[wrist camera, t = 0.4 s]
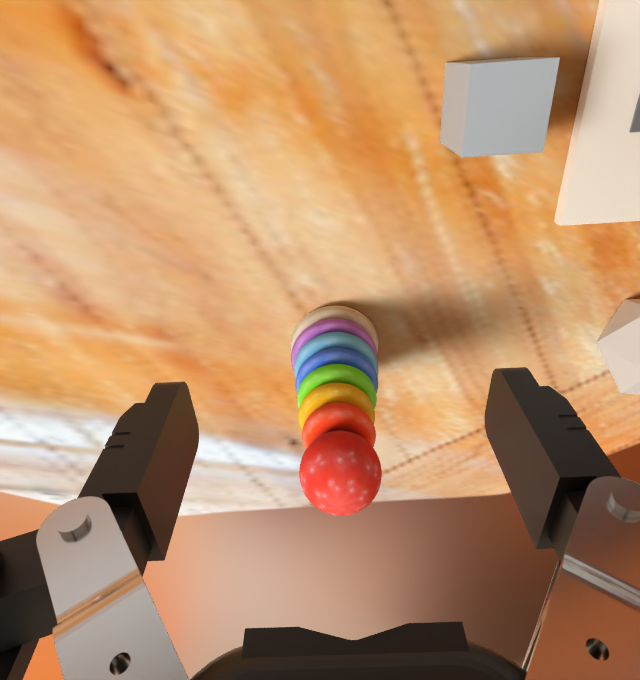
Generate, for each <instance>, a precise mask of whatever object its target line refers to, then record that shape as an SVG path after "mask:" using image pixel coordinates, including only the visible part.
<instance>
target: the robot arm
mask: <svg viewBox="0 0 640 680" xmlns="http://www.w3.org/2000/svg"><path fill="white" fill-rule="evenodd" d="M485 428H486V433H487V437H488V439H489V441H490V444H491V446H492V448H493V451H494V453H495V455H496V458H497V460H498V462H499V465H500V467H501V469H502V472H503V474H504V476H505V478H506V481H507V483H508V485H509V488H510V490H511V492H512V495H513V497H514V499H515V502H516V504H517V506H518V509H519V511H520V513H521V515H522V518H523V520H524V522H525V525H526V527H527V529H528V532H529V534H530V536H531V539H532V541H533V543H534V545H535V548H536V549H547V548H554V549H555V551H556V553H557V556H558V558H559V562H558V564H557V567H556V570H555V573H554V576H553V578H552V582H551V584H550V587H549V590H548V593H547V596H546V599H545V602H544V605H543V608H542V611H541V614H540V617H539V620H538V623H537V626H536V628H535V631H534V634H533V637H532V640H531V643H530V645H529V648H528V651H527V653H526V656H525V659H524V662H523V665H522V667H520V666H518V665H517V664H516V663H515V662H513V661H512V660H510V659H509V658H507V657H505V656H504V655H503V654H501V653H499V652H497V651H495V650H493V649H491V648H489V647H487V646H485V645H482V644H479V643H477V642H474V641H471V640H467V639H466V636H465V632H464V628H463V624H462V622H437V623H409V624H405V625H402V626H399V627H396V628H393V629H390V630H387V631H384V632H381V633H378V634H375V635H371V636H369V637H365V638H362V639H359V640H347V639H343V638H339V637H335V636H331V635H328V634H323V633H320V632H316V631H312V630H308V629H304V628H300V627H278V628H247V629H245V634H244V642H243V646H242V647H239V648H236V649H233V650H231V651H229V652H227V653H225V654H223V655H221V656H220V657H218V658H216V659H215V660H213V661H212V662H210V663H209V664H207V665H206V666H205V667H204V668H202V669H201V670H200V671H199V672H197V673H196V674H195V675H194V676H193V677H192V678H191V679H190V680H640V484H638V483H635V482H633V481H631V480H628V479H625V478H622V477H621V476H620V475H619V473H618V472H617V470H616V469H615V468H614V466H613V465H612V463H611V462H610V460H609V459H608V457H607V456H606V455H605V453H604V452H603V450H602V449H601V447H600V446H599V445H598V443H597V442H596V440H595V439H594V437H593V436H592V435H591V433H590V432H589V430H586V426H585V425H584V423H583V422H582V420H581V419H580V417H577V413H576V412H575V410H574V409H573V407H572V406H571V405H570V403H569V402H568V400H567V399H566V398H565V397H563V396H562V395H560V394H559V393H558V392H556V391H555V390H554V389H552V388H551V387H550V386H539V385H538V383H537V382H536V380H535V378H534V377H533V375H532V374H531V372H530V371H529V370H528V369H527V368H525V367H522V368H500V369H495V370H494V371H493V374H492V378H491V384H490V389H489V394H488V400H487V405H486V410H485ZM198 442H199V429H198V423H197V419H196V416H195V412H194V408H193V404H192V400H191V396H190V393H189V389H188V386H187V384H186V383H185V382H167V383H155V384H154V385H153V387H152V389H151V391H150V393H149V395H148V397H147V399H146V401H145V403H135V404H134V405H133V406H132V407H131V408H130V409H128V410H127V411H126V412H125V413H124V414H123V415H122V416H121V417H120V418H119V420H118V422H117V424H116V426H115V428H114V430H113V432H112V436H110V437H109V439H108V441H107V443H106V445H105V449H103V451H102V453H101V454H100V456H99V458H98V460H97V462H96V464H95V466H94V468H93V470H92V472H91V473H90V475H89V477H88V479H87V481H86V483H85V485H84V487H83V489H82V491H81V492H80V494H79V496H78V498H77V499H74V500H71V501H69V502H67V503H65V504H63V505H62V506H60V507H59V508H57V509H56V510H54V511H53V512H52V513H51V514H50V515H49V516H48V517H47V518H46V519H45V520H44V522H43V523H42V525H41V526H40V528H39V529H38V530H35V531H32V532H29V533H26V534H23V535H19V536H16V537H13V538H9V539H6V540H3V541H0V680H23V677H24V675H25V672H26V670H27V667H28V665H29V663H30V660H31V658H32V655H33V653H34V650H35V648H36V646H37V643H38V641H39V638H42V637H45V636H48V635H50V634H53V638H54V643H55V647H56V651H57V655H58V659H59V663H60V667H61V671H62V674H63V679H64V680H189V678H188V676H187V674H186V672H185V669H184V667H183V665H182V663H181V661H180V659H179V656H178V654H177V652H176V650H175V648H174V646H173V643H172V641H171V639H170V637H169V635H168V632H167V630H166V628H165V626H164V624H163V621H162V619H161V617H160V616H159V613H158V611H157V608H156V606H155V604H154V602H153V600H152V598H151V595H150V593H149V591H148V589H147V587H146V584H145V582H144V580H143V578H142V576H143V573H144V571H145V567H146V564H147V561H162V560H165V557H166V553H167V549H168V546H169V543H170V539H171V536H172V533H173V529H174V526H175V523H176V519H177V516H178V513H179V509H180V506H181V502H182V499H183V496H184V492H185V489H186V486H187V482H188V479H189V475H190V472H191V469H192V465H193V462H194V459H195V455H196V452H197V448H198Z"/></svg>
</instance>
